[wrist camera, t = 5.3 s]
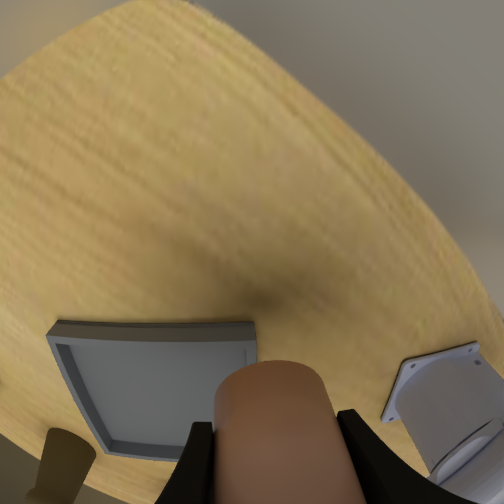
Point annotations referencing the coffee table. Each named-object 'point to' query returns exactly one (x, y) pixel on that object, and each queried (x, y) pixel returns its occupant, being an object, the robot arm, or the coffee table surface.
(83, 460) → the brown pawn figure
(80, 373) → the tray
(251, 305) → the coffee table surface
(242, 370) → the brown clay cylinder
